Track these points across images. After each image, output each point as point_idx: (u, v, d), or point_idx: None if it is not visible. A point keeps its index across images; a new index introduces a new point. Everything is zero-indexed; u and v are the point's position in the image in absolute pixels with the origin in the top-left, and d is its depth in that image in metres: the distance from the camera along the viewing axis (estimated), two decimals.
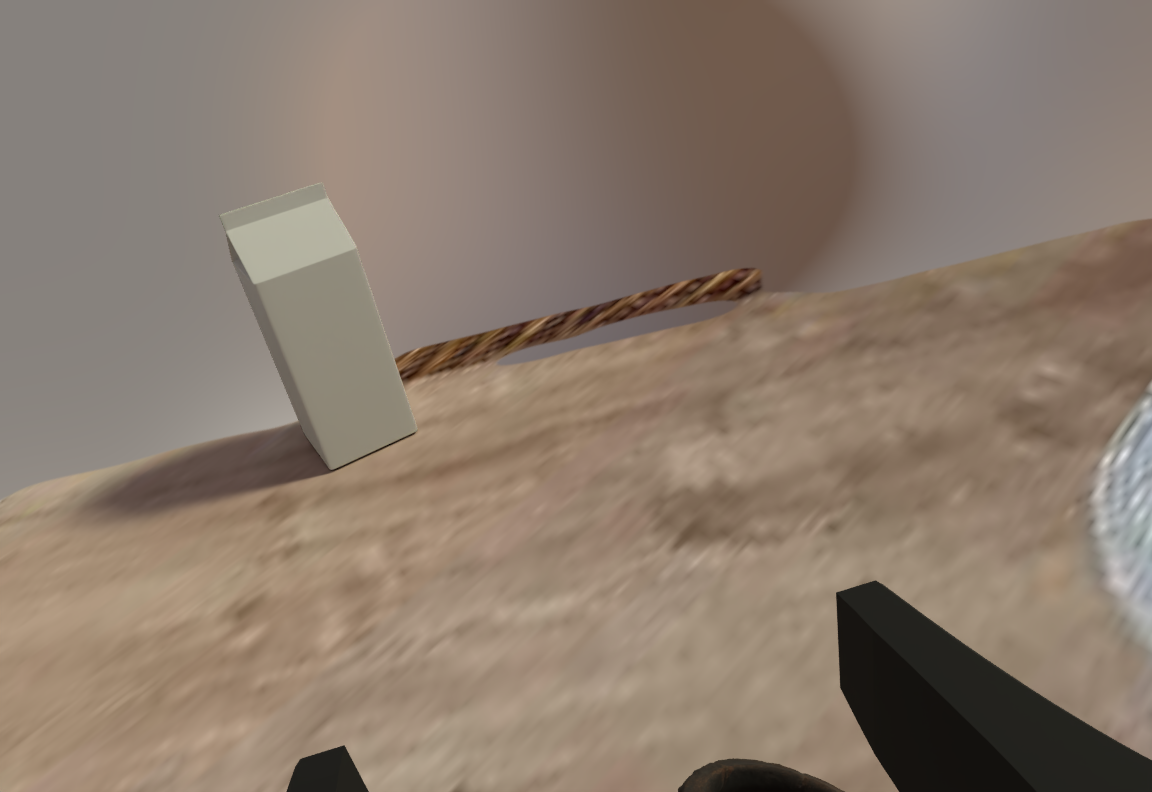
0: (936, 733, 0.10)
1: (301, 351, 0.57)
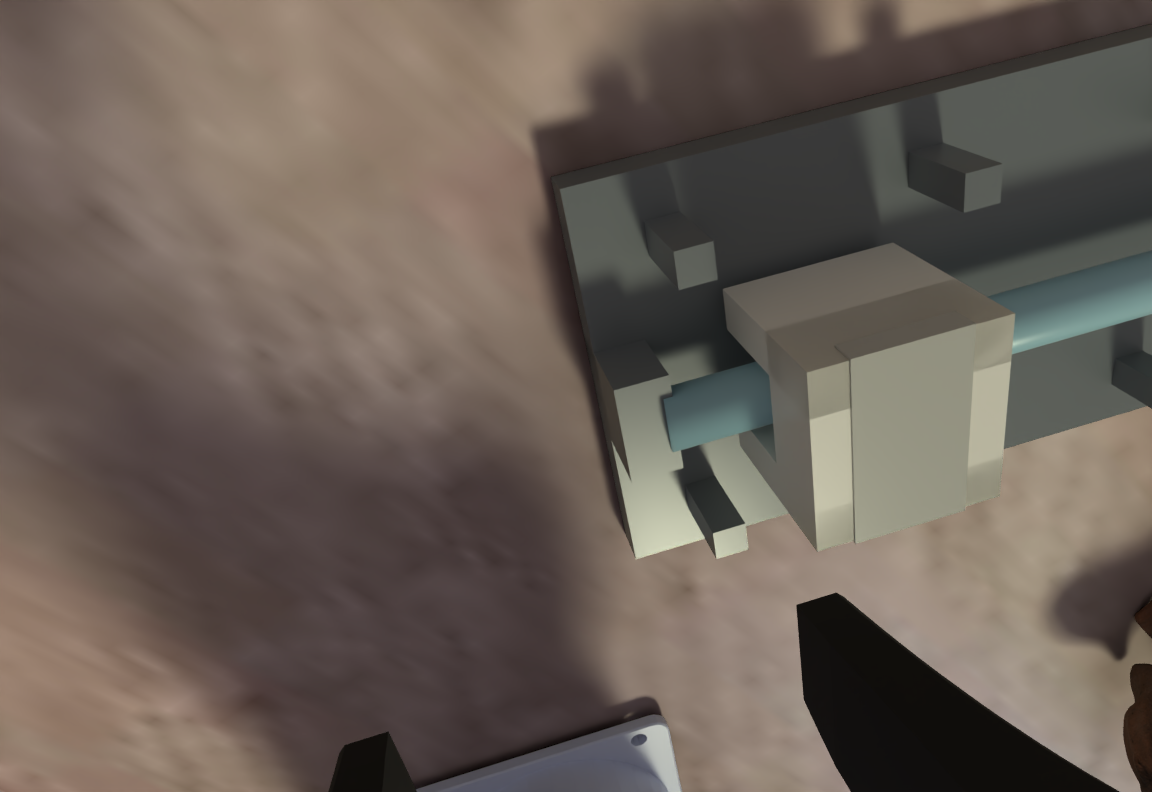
0: (889, 748, 0.10)
1: None
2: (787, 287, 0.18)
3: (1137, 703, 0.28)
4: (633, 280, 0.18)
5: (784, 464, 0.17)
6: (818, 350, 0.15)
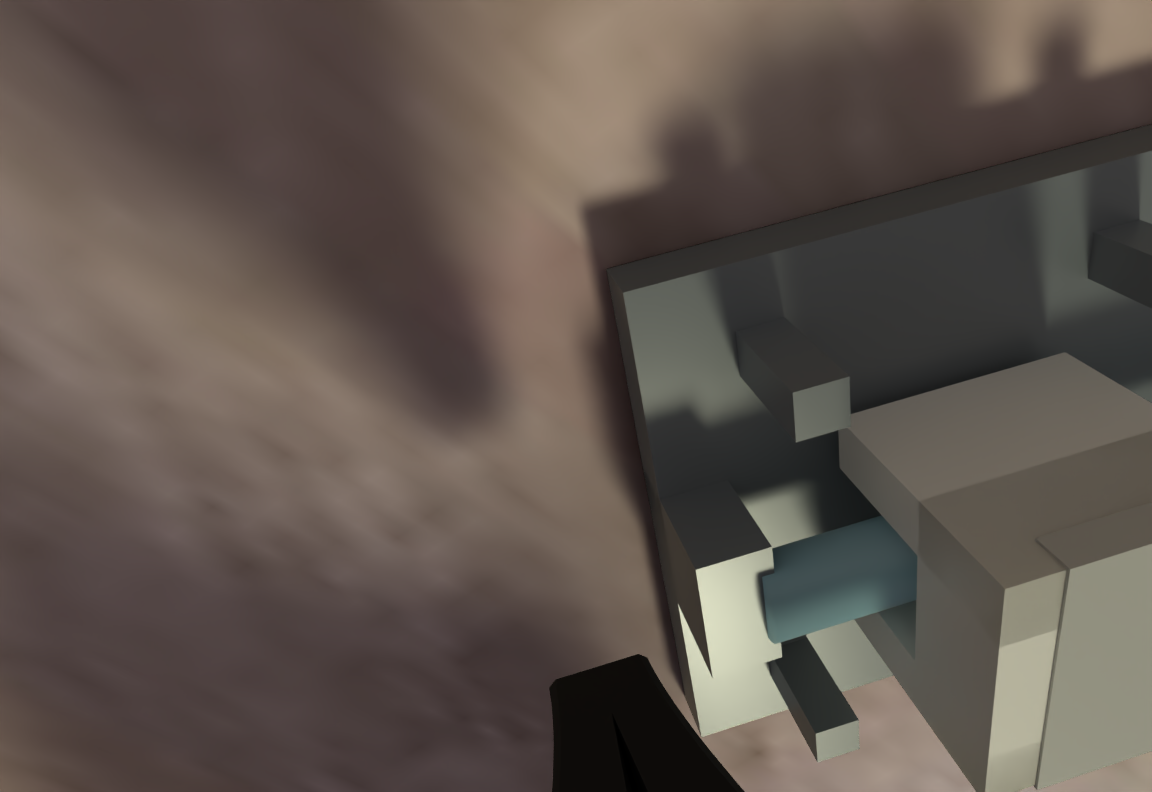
0: None
1: None
2: (932, 421, 0.13)
3: None
4: (717, 407, 0.13)
5: (931, 670, 0.12)
6: (1011, 545, 0.10)
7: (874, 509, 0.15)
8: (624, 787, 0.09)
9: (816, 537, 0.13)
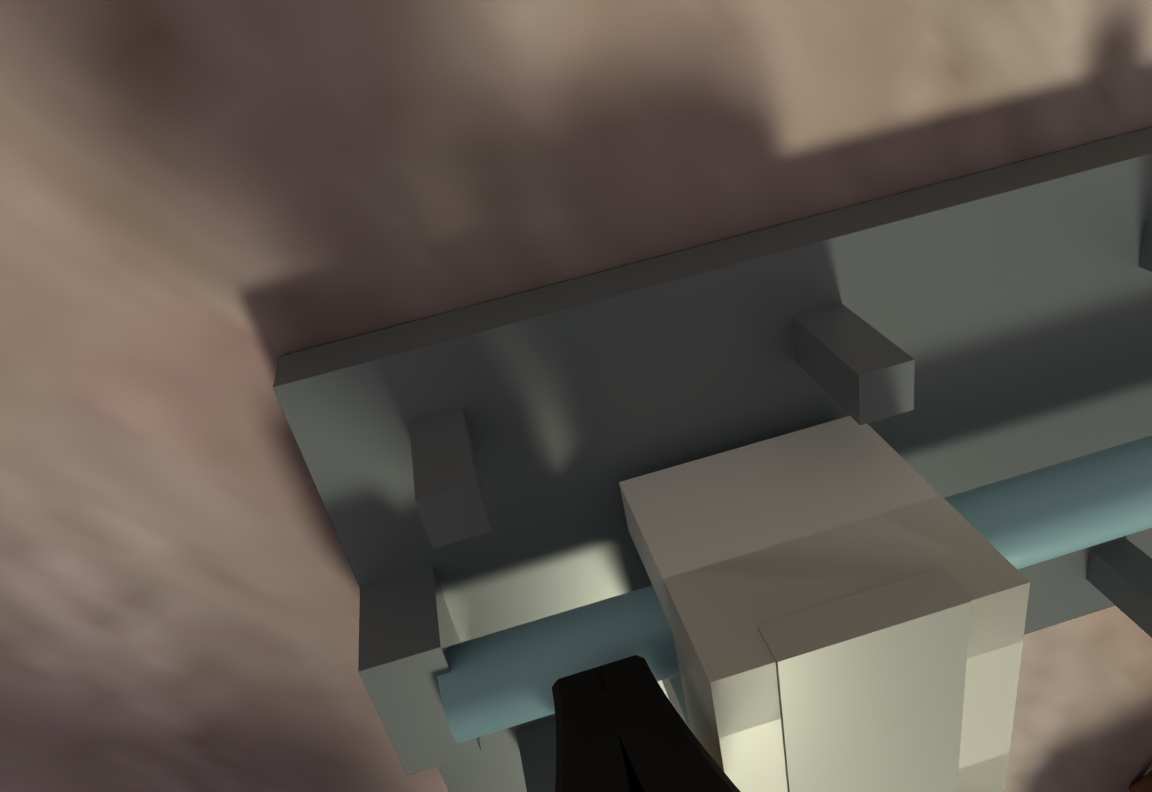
0: None
1: None
2: (705, 488, 0.12)
3: None
4: (405, 496, 0.13)
5: None
6: (733, 631, 0.10)
7: (605, 592, 0.15)
8: (627, 786, 0.09)
9: (507, 631, 0.13)
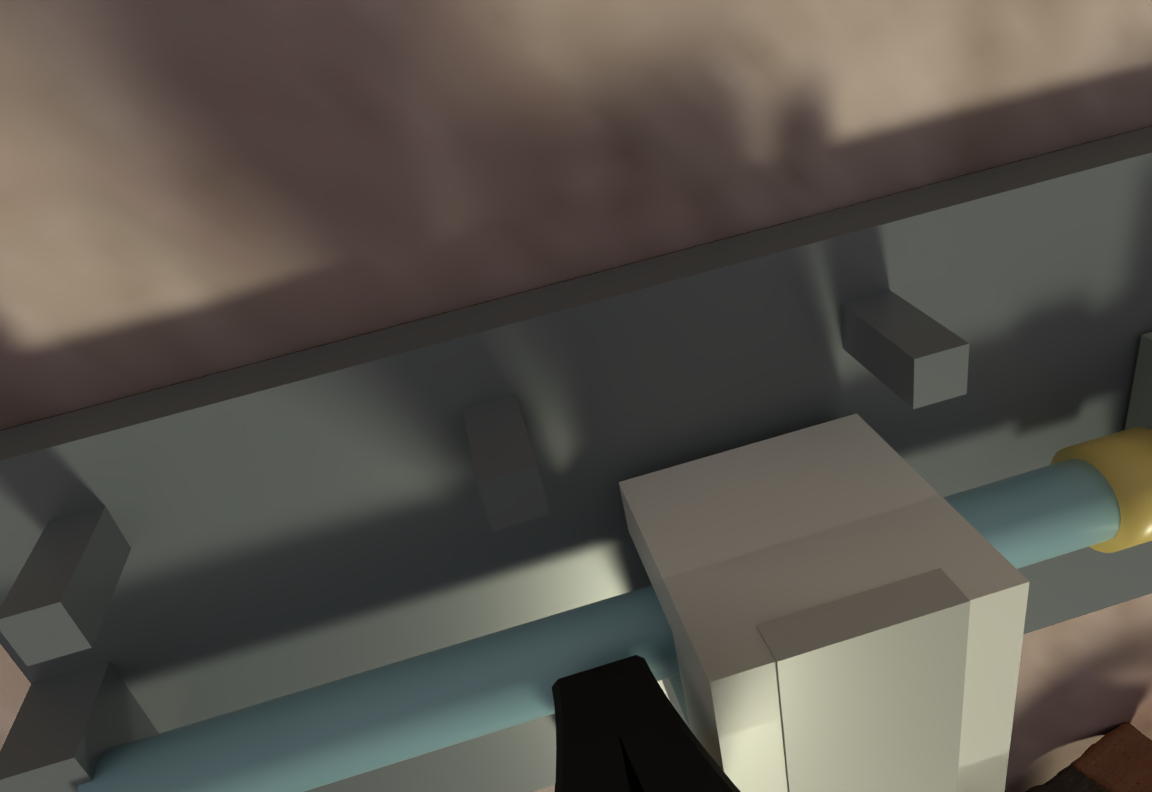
0: None
1: None
2: (705, 488, 0.12)
3: None
4: None
5: None
6: (733, 631, 0.10)
7: (311, 680, 0.14)
8: (627, 786, 0.09)
9: (168, 733, 0.12)
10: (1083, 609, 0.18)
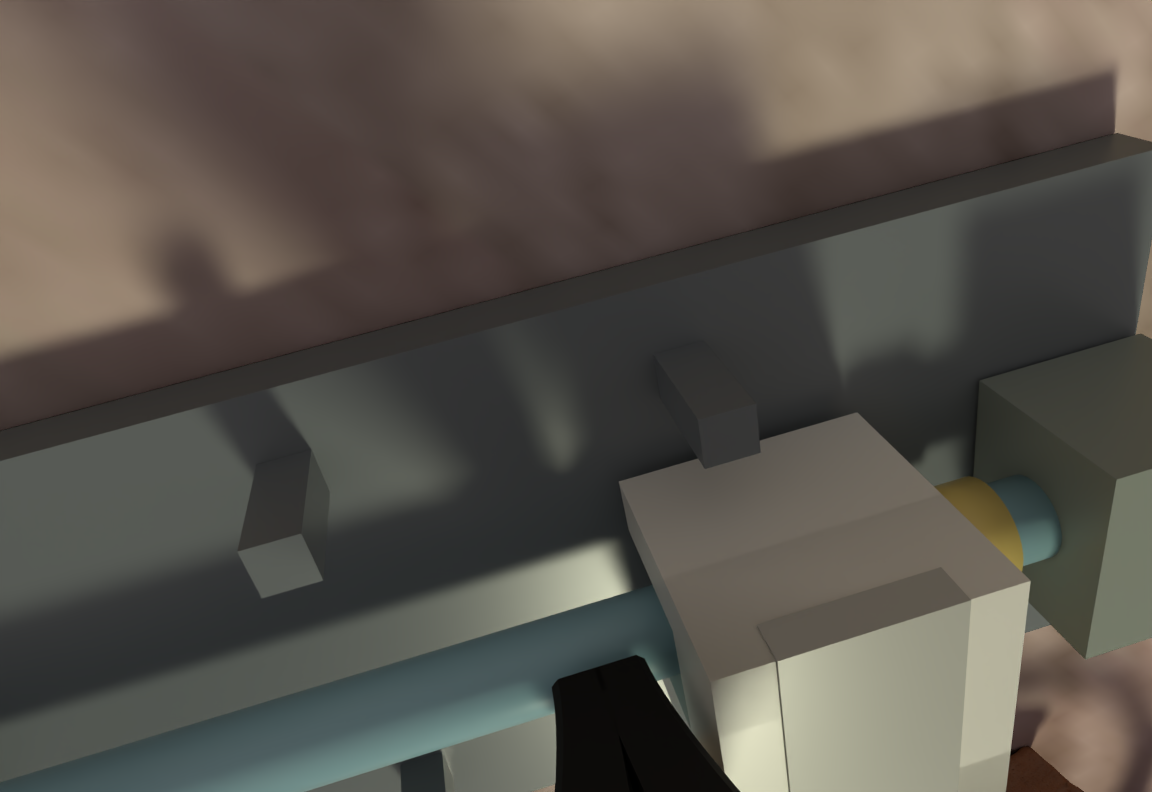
0: None
1: None
2: (705, 488, 0.12)
3: None
4: None
5: None
6: (733, 631, 0.10)
7: (130, 735, 0.14)
8: (627, 786, 0.09)
9: None
10: None
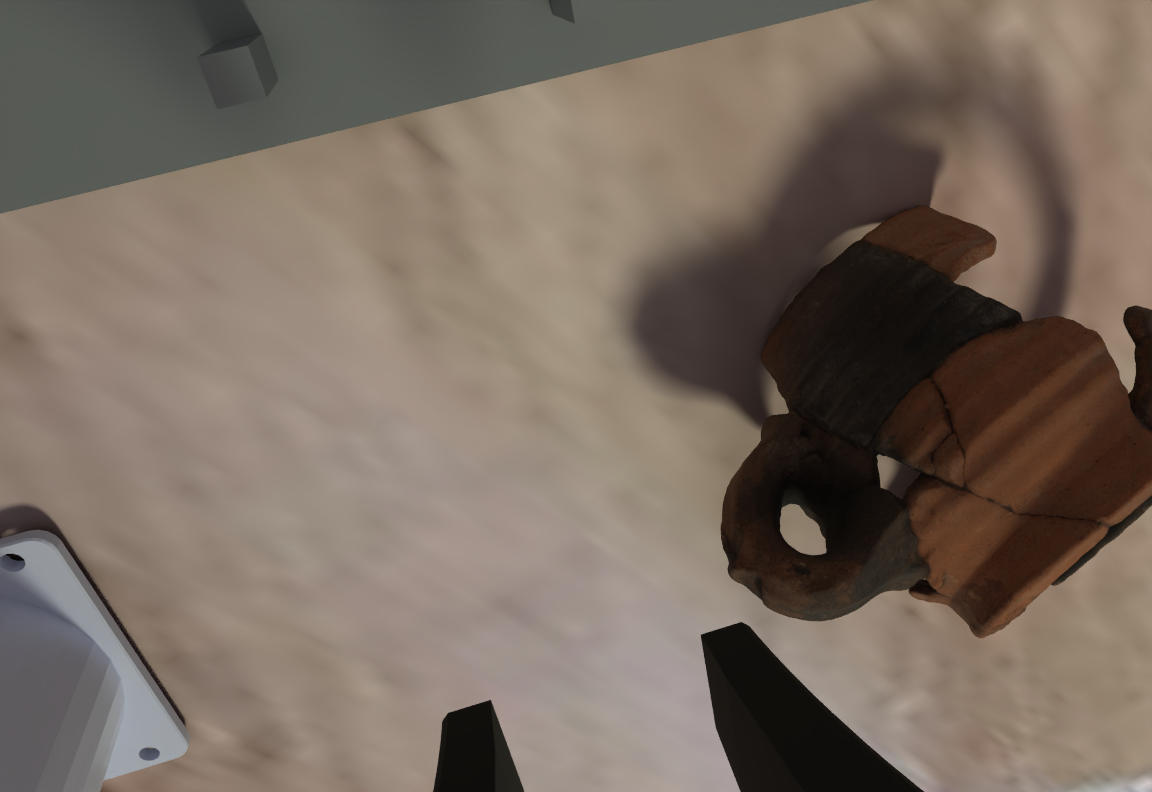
0: (777, 785, 0.10)
1: None
2: None
3: (743, 462, 0.20)
4: None
5: None
6: None
7: None
8: None
9: None
10: (816, 3, 0.17)
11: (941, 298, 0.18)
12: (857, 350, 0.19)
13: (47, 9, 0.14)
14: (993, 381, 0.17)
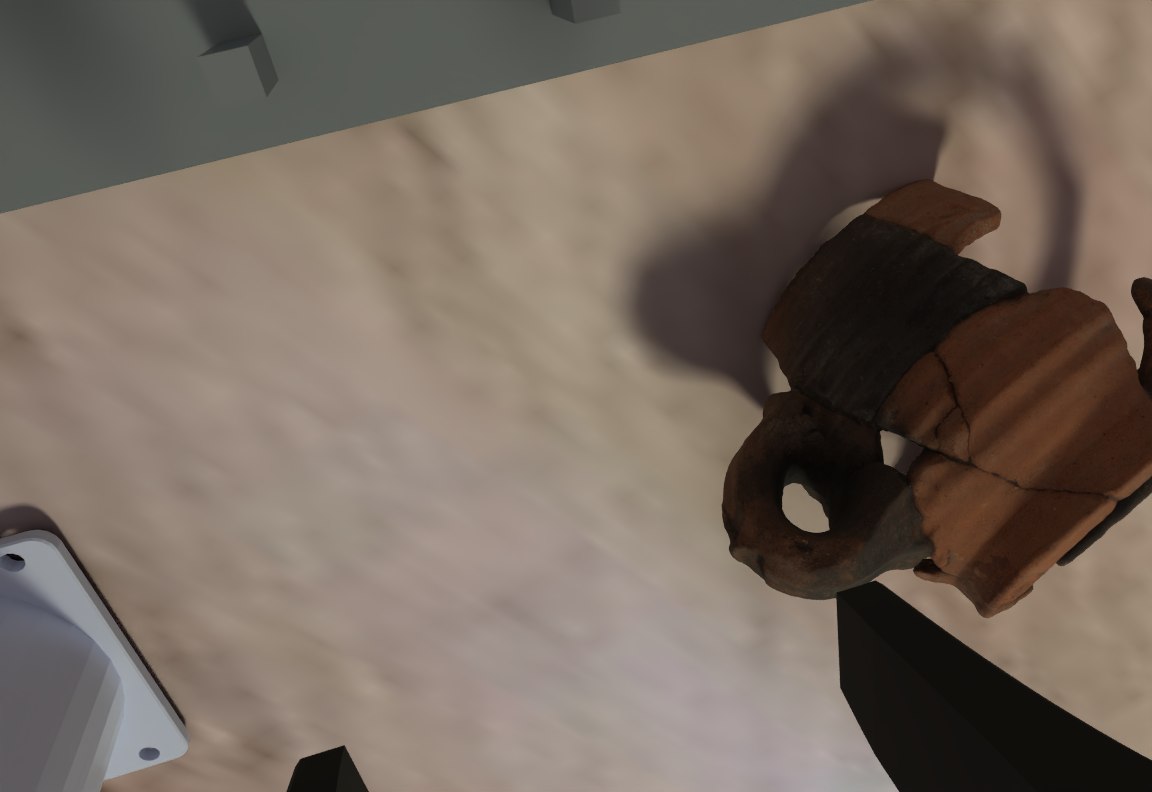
0: (936, 733, 0.10)
1: None
2: None
3: (744, 441, 0.20)
4: None
5: None
6: None
7: None
8: None
9: None
10: (816, 3, 0.17)
11: (945, 270, 0.18)
12: (859, 325, 0.19)
13: (47, 9, 0.14)
14: (998, 353, 0.17)
